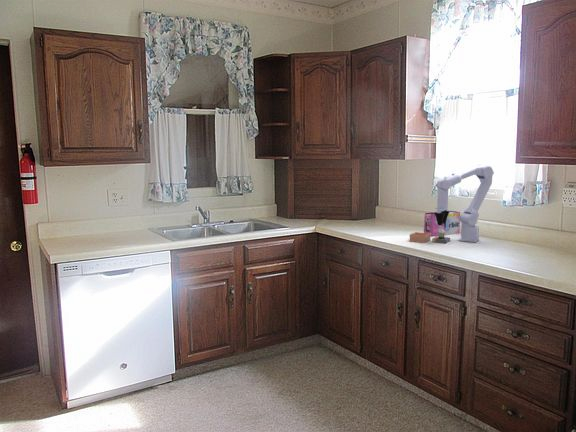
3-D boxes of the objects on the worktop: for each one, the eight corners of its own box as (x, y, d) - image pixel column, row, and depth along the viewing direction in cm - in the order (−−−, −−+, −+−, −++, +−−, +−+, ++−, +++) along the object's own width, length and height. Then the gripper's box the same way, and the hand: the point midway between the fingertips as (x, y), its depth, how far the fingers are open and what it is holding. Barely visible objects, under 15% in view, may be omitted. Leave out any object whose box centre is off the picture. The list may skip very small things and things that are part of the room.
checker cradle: (450, 241, 289) (450, 237, 289) (446, 243, 283) (446, 239, 282) (436, 239, 294) (436, 236, 293) (432, 242, 287) (432, 238, 287)
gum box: (430, 236, 303) (431, 214, 302) (421, 234, 310) (422, 213, 309) (459, 233, 314) (460, 212, 312) (450, 231, 321) (451, 210, 319)
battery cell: (444, 241, 289) (445, 228, 288) (443, 242, 286) (443, 229, 285) (439, 240, 291) (439, 228, 289) (437, 241, 288) (437, 228, 287)
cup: (430, 240, 292) (430, 233, 292) (425, 242, 284) (425, 235, 284) (414, 238, 297) (415, 232, 297) (409, 241, 289) (409, 234, 289)
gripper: (439, 198, 293) (438, 222, 295) (431, 201, 281) (430, 225, 283) (451, 199, 289) (450, 223, 291) (444, 202, 277) (443, 226, 279)
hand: (441, 224), depth 287 cm, fingers open, 7 cm apart
